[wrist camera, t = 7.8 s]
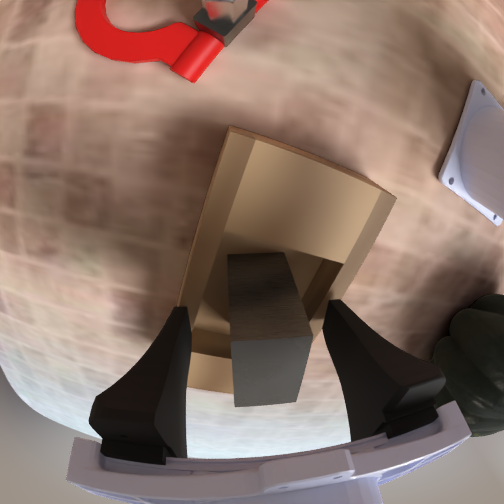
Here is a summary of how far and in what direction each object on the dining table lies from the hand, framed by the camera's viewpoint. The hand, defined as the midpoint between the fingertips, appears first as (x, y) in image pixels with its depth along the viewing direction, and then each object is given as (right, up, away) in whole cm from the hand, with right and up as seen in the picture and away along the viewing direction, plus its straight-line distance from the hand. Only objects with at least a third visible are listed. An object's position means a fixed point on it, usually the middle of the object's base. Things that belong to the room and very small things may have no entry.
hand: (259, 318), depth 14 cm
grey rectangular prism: (0, +1, +2) cm, 2 cm away
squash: (+22, -5, +10) cm, 25 cm away
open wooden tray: (0, +2, +3) cm, 3 cm away
